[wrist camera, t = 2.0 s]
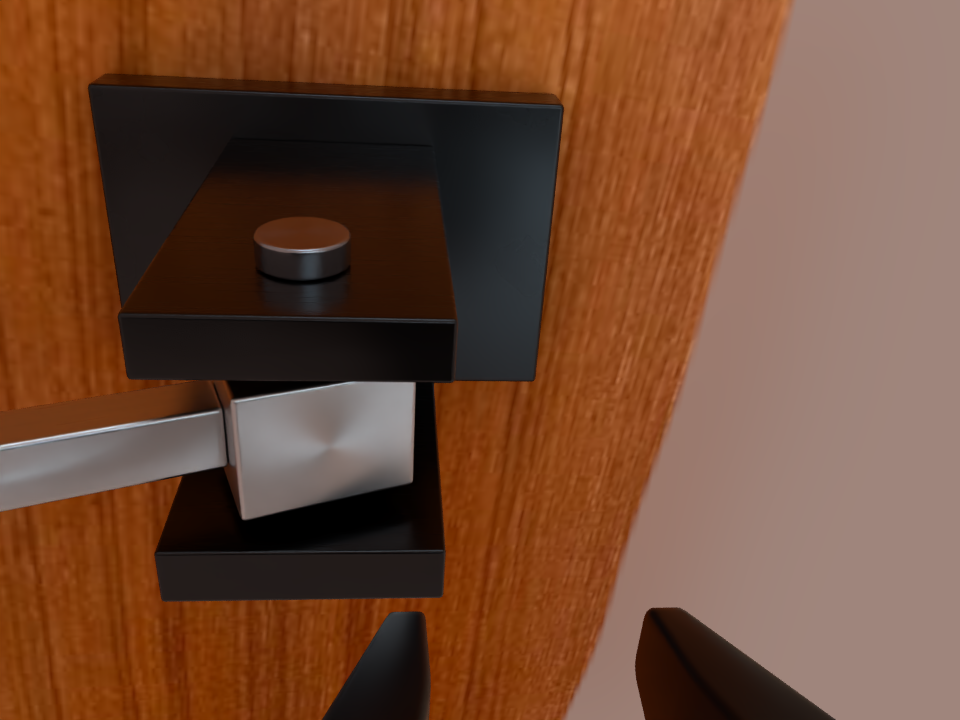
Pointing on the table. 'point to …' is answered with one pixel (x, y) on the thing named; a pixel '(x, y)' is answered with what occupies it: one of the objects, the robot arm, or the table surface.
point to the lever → (216, 442)
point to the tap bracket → (323, 289)
